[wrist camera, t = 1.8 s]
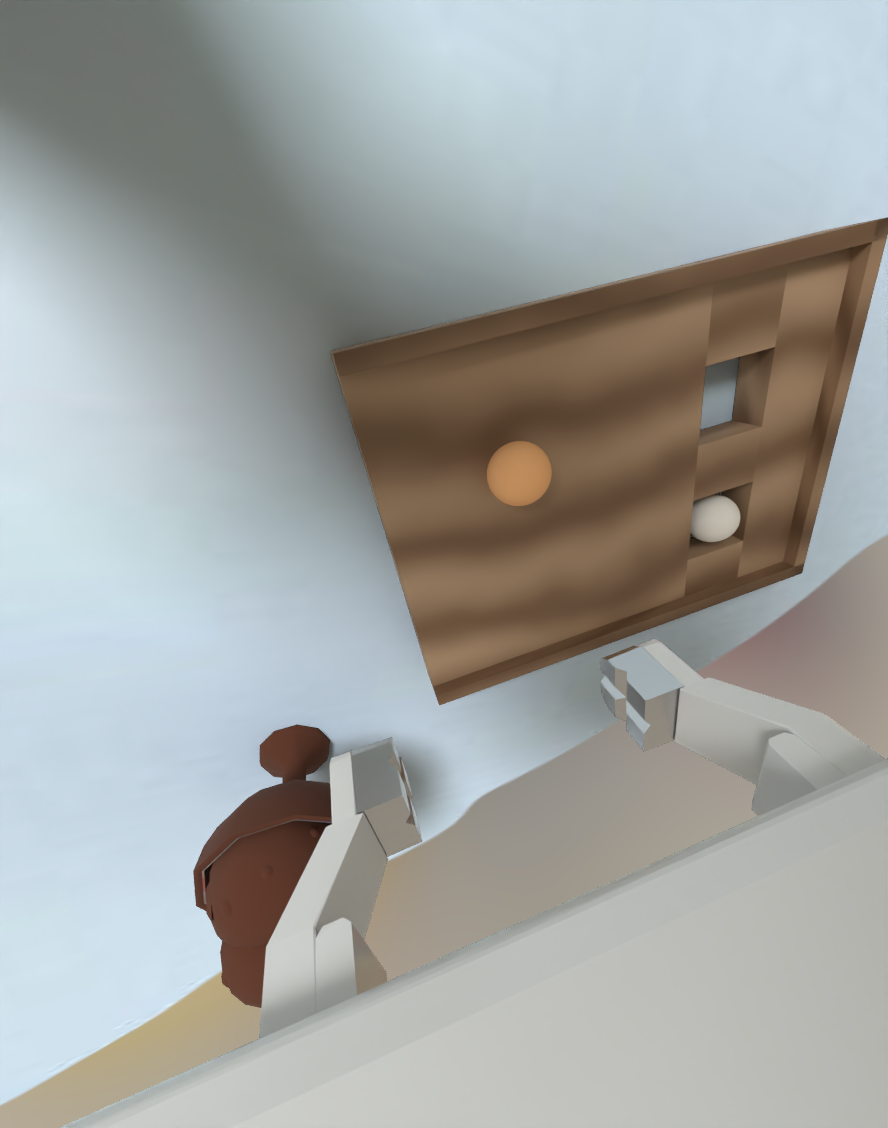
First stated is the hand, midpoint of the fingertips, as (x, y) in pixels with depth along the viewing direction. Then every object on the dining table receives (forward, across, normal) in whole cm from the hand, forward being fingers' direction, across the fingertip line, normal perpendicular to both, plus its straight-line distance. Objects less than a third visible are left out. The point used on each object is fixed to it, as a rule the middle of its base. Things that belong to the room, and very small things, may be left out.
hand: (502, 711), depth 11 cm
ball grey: (+17, -23, +9) cm, 30 cm away
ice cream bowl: (+19, +13, +19) cm, 30 cm away
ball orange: (+15, -7, 0) cm, 16 cm away
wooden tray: (+19, -15, +4) cm, 25 cm away
